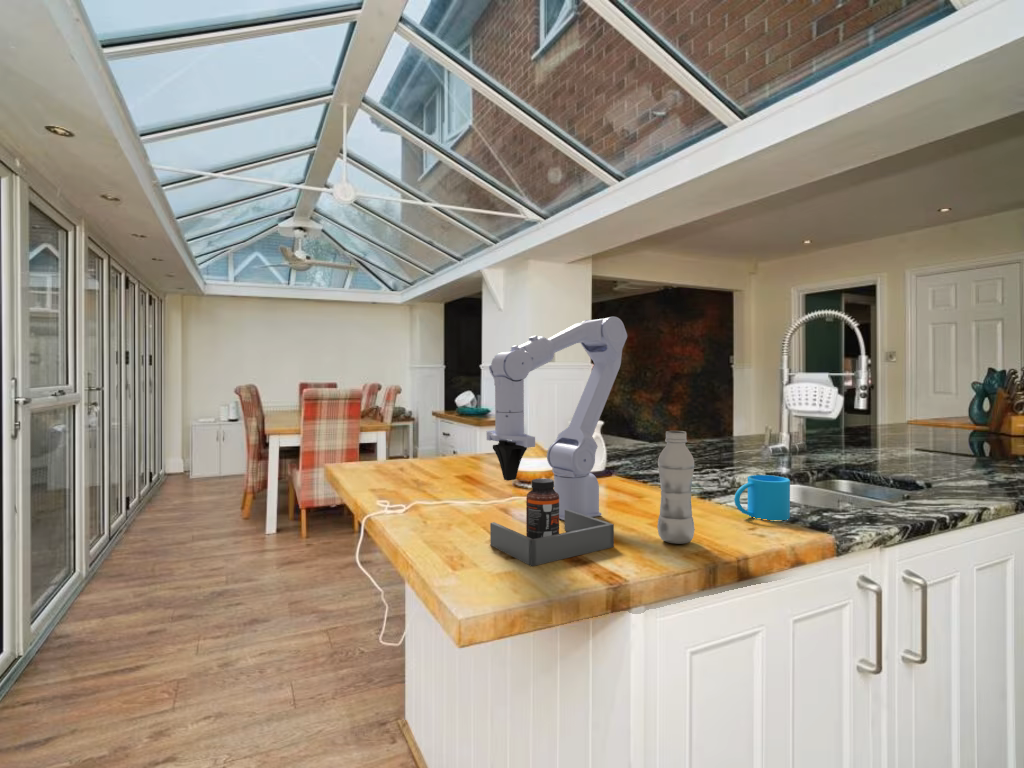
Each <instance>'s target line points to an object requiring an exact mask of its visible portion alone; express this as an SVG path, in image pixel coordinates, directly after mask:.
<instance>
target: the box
mask: <svg viewBox="0 0 1024 768" xmlns="http://www.w3.org/2000/svg"><path fill="white" fill-rule="evenodd" d="M614 526H615V525H614V524H613V523H611V522H608V521H606V520H602V519H598V518H596V517H590V516H587V515H584V514H581V513H578V512H574V511H571V510H568V509H567V510H565V520H564V531H566V532H561V533H559V534H556V535H551V536H546V537H541V538H536V539H532V538H529V537H527V536H526V535H525V534H522V533H520V532H517V530H516V531H515V530H513V529H511V528H508V527H506V526H504V525H501V524H499V523H497V522H495V521H494V522H490V530H489V531H490V532H489V533H490V535H489V536H490V537H489V538H490V546H491V547H493V548H495V549H498V550H499V551H501V552H503V553H505V554H507V555H509V556H511V557H513V558H515V559H517V560H519V561H521V562H522V563H524V564H526V565H528V566H530V567H534V566H539V565H543V564H547V563H552V562H555V561H556V562H557V561H560V560H564V559H569V558H573V557H577V556H581V555H585V554H590V553H594V552H598V551H599V552H600V551H603V550H606V549H611V548H614V547H615V545H614V543H615V542H614V541H615V540H614V539H615V538H614V537H615V527H614Z"/></svg>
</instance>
